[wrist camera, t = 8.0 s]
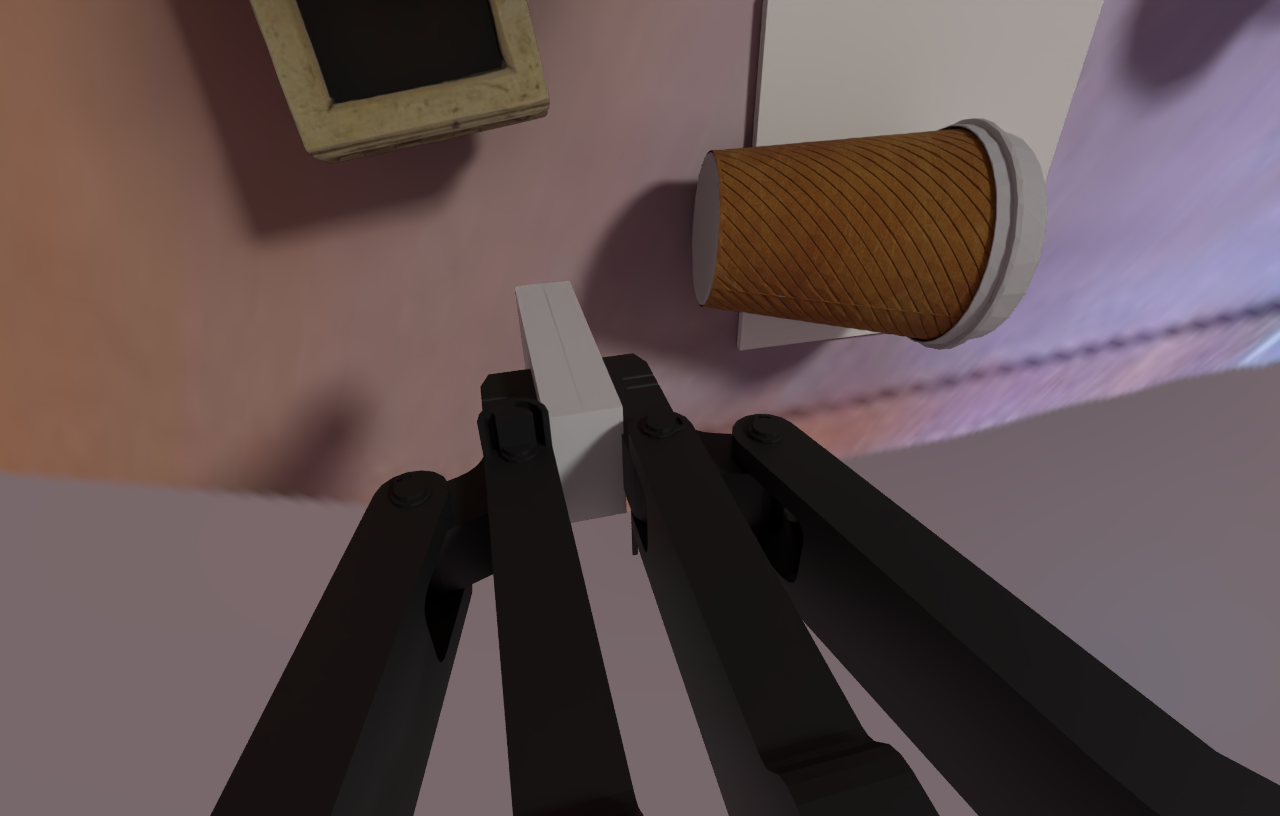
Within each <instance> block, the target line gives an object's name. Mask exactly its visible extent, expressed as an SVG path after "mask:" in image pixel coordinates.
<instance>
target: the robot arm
mask: <svg viewBox="0 0 1280 816" xmlns="http://www.w3.org/2000/svg"><path fill="white" fill-rule="evenodd" d="M515 294H516V301H517V309H518V316H519V324H520V331H521V339H522V346H523V353H524V361H525V368H526V369H525V370H518V371H511V372H503V373H496V374H489V375H488V376H487V378H486V379H485V381H484V382H483V384H482V385H481V399H482V410H483V411H482V412H481V413H480V414H479V417H478V420H477V425H478V430H479V435H480V440H481V445H482V450H483V456H484V457H483V459H482V460H481V462H480V463H479V464H478V465H477V466H476V467H475V468H473V469H472V470H470V471H469V472H467V473H465V474H463V475H461V476H459V477H457V478H454V479H452V480H449V481H446V479H445V478H444V476H442V475H439V474H437V473H435V472H431V471H422V470H421V471H414V472H407V473H404V474H401V475H399V476H396V477H393V478H392V479H390V480H389V481H387V482H386V483H384V484H383V485H381V487H380V488H379V489H378V490H377V492H376V493H375V494H374V496H373V498H372V500H371V502H370V504H369V506H368V507H367V509H366V511H365V513H364V515H363V517H362V520H361V521H360V523H359V525H358V527H357V529H356V531H355V533H354V535H353V537H352V539H351V541H350V543H349V545H348V547H347V549H346V551H345V553H344V555H343V557H342V558H341V560H340V562H339V565H338V566H337V569H336V570H335V572H334V574H333V576H332V578H331V580H330V582H329V584H328V586H327V588H326V590H325V592H324V594H323V596H322V598H321V600H320V602H319V604H318V606H317V607H316V609H315V612H314V613H313V615H312V617H311V619H310V621H309V623H308V625H307V627H306V629H305V631H304V633H303V635H302V637H301V639H300V641H299V643H298V645H297V647H296V649H295V651H294V653H293V655H292V657H291V658H290V660H289V662H288V665H287V667H286V668H285V670H284V672H283V674H282V676H281V678H280V680H279V682H278V684H277V686H276V688H275V690H274V692H273V694H272V696H271V698H270V700H269V702H268V704H267V706H266V708H265V709H264V711H263V713H262V715H261V718H260V719H259V722H258V723H257V725H256V727H255V729H254V731H253V733H252V735H251V737H250V739H249V741H248V743H247V745H246V747H245V749H244V751H243V753H242V755H241V757H240V759H239V760H238V763H237V764H236V766H235V768H234V770H233V772H232V774H231V776H230V778H229V780H228V782H227V784H226V786H225V788H224V790H223V792H222V794H221V796H220V798H219V800H218V802H217V804H216V806H215V808H214V810H213V811H212V813H211V815H210V816H413V815H414V811H415V807H416V803H417V800H418V796H419V792H420V788H421V784H422V781H423V777H424V773H425V769H426V766H427V761H428V758H429V754H430V750H431V746H432V743H433V739H434V735H435V732H436V728H437V724H438V720H439V716H440V712H441V709H442V705H443V701H444V697H445V694H446V690H447V686H448V682H449V678H450V674H451V671H452V667H453V663H454V659H455V655H456V652H457V648H458V644H459V641H460V637H461V633H462V629H463V625H464V622H465V618H466V614H467V610H468V607H469V603H470V599H471V595H472V584H473V583H475V582H478V581H480V580H482V579H484V578H486V577H488V576H490V575H492V574H493V576H494V588H495V600H496V612H497V625H498V637H499V649H500V661H501V674H502V686H503V698H504V710H505V722H506V734H507V746H508V759H509V771H510V783H511V795H512V807H513V816H643V814H642V812H641V811H640V809H639V807H638V804H637V801H636V798H635V794H634V790H633V786H632V781H631V777H630V773H629V769H628V765H627V760H626V756H625V752H624V748H623V743H622V739H621V735H620V730H619V726H618V722H617V718H616V714H615V709H614V705H613V701H612V697H611V693H610V688H609V684H608V680H607V675H606V671H605V667H604V663H603V659H602V654H601V650H600V646H599V641H598V637H597V633H596V629H595V624H594V620H593V616H592V612H591V607H590V604H589V599H588V595H587V590H586V586H585V582H584V578H583V574H582V569H581V565H580V561H579V556H578V552H577V548H576V544H575V540H574V536H573V532H572V527H571V523H573V522H578V521H583V520H589V519H595V518H600V517H605V516H611V515H616V514H621V513H627V511H626V497H627V500H628V503H629V505H630V508H631V524H632V550H633V551H632V552H633V555H637V554H638V549H639V552H640V554H641V558H642V561H643V564H644V567H645V569H646V572H647V575H648V578H649V581H650V584H651V587H652V590H653V593H654V596H655V599H656V602H657V605H658V608H659V611H660V614H661V616H662V620H663V623H664V626H665V629H666V631H667V634H668V637H669V640H670V643H671V646H672V649H673V652H674V655H675V658H676V661H677V664H678V666H679V670H680V673H681V676H682V678H683V681H684V684H685V687H686V690H687V693H688V696H689V699H690V702H691V705H692V708H693V711H694V714H695V717H696V720H697V723H698V726H699V728H700V732H701V735H702V738H703V741H704V744H705V747H706V750H707V753H708V755H709V758H710V761H711V764H712V767H713V770H714V773H715V776H716V779H717V782H718V785H719V788H720V791H721V794H722V797H723V800H724V802H725V805H726V809H727V811H728V814H729V816H939V814H938V813H937V811H936V809H935V808H934V806H933V804H932V802H931V801H930V799H929V797H928V796H927V794H926V792H925V791H924V789H923V787H922V786H921V784H920V782H919V781H918V779H917V777H916V776H915V774H914V772H913V771H912V769H911V768H910V766H909V765H908V764H907V762H906V761H905V760H904V758H903V757H902V755H901V754H900V753H899V752H898V751H896V750H895V749H894V748H893V747H892V746H891V745H890V744H886V743H881V742H876V741H874V740H873V739H872V738H870V737H869V736H868V735H867V733H866V732H865V730H864V729H863V727H862V726H861V724H860V722H859V720H858V719H857V717H856V715H855V713H854V711H853V710H852V708H851V706H850V704H849V703H848V701H847V699H846V697H845V695H844V694H843V692H842V690H841V688H840V686H839V685H838V683H837V681H836V679H835V678H834V676H833V674H832V672H831V671H830V669H829V667H828V665H827V663H826V662H825V660H824V658H823V656H822V654H821V653H820V651H819V649H818V647H817V646H816V644H815V642H814V640H813V639H812V637H811V635H810V633H809V631H808V630H807V628H806V626H805V624H804V622H805V623H806V624H807V626H808V627H809V628H810V629H811V630H812V631H813V632H814V633H815V634H816V636H817V637H818V638H819V639H820V640H821V641H822V642H823V643H824V644H825V646H826V647H827V648H828V649H829V650H830V651H831V652H832V653H833V654H834V656H835V657H836V658H837V659H838V660H839V661H840V662H841V663H842V664H843V666H844V667H845V668H846V669H847V670H848V671H849V672H850V673H851V674H852V676H853V677H854V678H855V679H856V680H857V681H858V682H859V683H860V684H861V686H862V687H863V688H864V689H865V690H866V691H867V692H868V693H869V694H870V695H871V697H872V698H873V699H874V700H875V701H876V702H877V703H878V704H879V705H880V707H881V708H882V709H883V710H884V711H885V712H886V713H887V714H888V716H889V717H890V718H891V719H892V720H893V721H894V722H895V723H896V724H897V726H898V727H899V728H900V729H901V730H902V731H903V732H904V733H905V734H906V735H907V737H908V738H909V739H910V740H911V741H912V742H913V743H914V744H915V746H917V748H918V749H919V750H920V751H921V752H922V753H923V754H924V756H925V757H926V758H927V759H928V760H929V761H930V762H931V763H932V764H933V766H934V767H935V768H936V769H937V770H938V771H939V772H940V773H941V774H942V776H943V777H944V778H945V779H946V780H947V781H948V782H949V783H950V784H951V786H952V787H953V788H954V789H955V790H956V791H957V792H958V793H959V794H960V796H961V797H962V798H963V799H964V800H965V801H966V802H967V803H968V804H969V805H970V807H972V809H973V810H974V811H975V812H976V813H977V814H978V816H1280V785H1278V784H1276V783H1274V782H1272V781H1271V780H1269V779H1267V778H1265V777H1263V776H1261V775H1259V774H1257V773H1255V772H1253V771H1252V770H1250V769H1248V768H1246V767H1244V766H1242V765H1240V764H1239V763H1237V762H1235V761H1233V760H1231V759H1229V758H1227V757H1225V756H1223V755H1221V754H1220V753H1218V752H1216V751H1215V750H1213V749H1212V748H1211V747H1209V746H1208V745H1207V744H1206V743H1204V742H1203V741H1202V740H1201V739H1199V738H1198V737H1197V736H1195V735H1194V734H1193V733H1191V732H1190V731H1189V730H1188V729H1186V728H1185V727H1184V726H1183V725H1181V724H1180V723H1179V722H1177V721H1176V720H1175V719H1173V718H1172V717H1171V716H1170V715H1168V714H1167V713H1166V712H1164V711H1163V710H1162V709H1161V708H1159V707H1158V706H1157V705H1155V704H1154V703H1153V702H1152V701H1150V700H1149V699H1148V698H1146V697H1145V696H1144V695H1142V694H1141V693H1140V692H1139V691H1137V690H1136V689H1135V688H1133V687H1132V686H1131V685H1129V684H1128V683H1127V682H1125V681H1124V680H1123V679H1122V678H1120V677H1119V676H1118V675H1117V674H1115V673H1114V672H1113V671H1111V670H1110V669H1109V668H1108V667H1106V666H1105V665H1104V664H1102V663H1101V662H1100V661H1099V660H1097V659H1096V658H1094V657H1093V656H1092V655H1091V654H1089V653H1088V652H1087V651H1085V650H1084V649H1083V648H1082V647H1080V646H1079V645H1078V644H1077V643H1075V642H1074V641H1073V640H1071V639H1070V638H1069V637H1068V636H1066V635H1065V634H1064V633H1062V632H1061V631H1060V630H1058V629H1057V628H1056V627H1055V626H1053V625H1052V624H1051V623H1049V622H1048V621H1047V620H1046V619H1044V618H1043V617H1042V616H1040V615H1039V614H1038V613H1036V612H1035V611H1034V610H1033V609H1031V608H1030V607H1029V606H1027V605H1026V604H1025V603H1024V602H1022V601H1021V600H1020V599H1018V598H1017V597H1016V596H1014V595H1013V594H1012V593H1011V592H1009V591H1008V590H1007V589H1005V588H1004V587H1003V586H1002V585H1000V584H999V583H998V582H996V581H995V580H994V579H993V578H991V577H990V576H989V575H987V574H986V573H985V572H984V571H982V570H981V569H980V568H978V567H977V566H976V565H975V564H973V563H972V562H971V561H969V560H968V559H967V558H965V557H964V556H963V555H962V554H960V553H959V552H958V551H956V550H955V549H954V548H952V547H951V546H950V545H949V544H947V543H946V542H945V541H944V540H942V539H940V537H938V536H937V535H936V534H934V533H933V532H932V531H931V530H929V529H928V528H927V527H925V526H924V525H923V524H922V523H920V522H919V521H918V520H916V519H915V518H914V517H912V516H911V515H910V514H909V513H907V512H906V511H905V510H903V509H902V508H901V507H899V506H898V505H897V504H896V503H894V502H893V501H892V500H891V499H889V498H888V497H887V496H885V495H884V494H883V493H881V492H880V491H879V490H878V489H876V488H875V487H874V486H872V485H871V484H870V483H869V482H867V481H866V480H865V479H863V478H862V477H861V476H860V475H858V474H857V473H856V472H854V471H853V470H852V469H850V468H849V467H848V466H847V465H845V464H844V463H843V462H841V461H840V460H839V459H838V458H836V457H835V456H834V455H832V454H831V453H830V452H829V451H827V450H826V449H825V448H823V447H822V446H821V445H819V444H818V443H817V442H816V441H814V440H813V439H812V438H810V437H809V436H808V435H807V434H805V433H804V432H803V431H801V430H800V429H799V428H798V427H796V426H795V425H794V424H792V423H791V422H789V421H787V420H785V419H783V418H781V417H778V416H774V415H770V414H754V415H749V416H745V417H743V418H741V419H740V420H738V421H737V422H736V423H735V425H734V426H733V429H732V434H722V433H708V432H701V431H698V430H695V428H694V427H693V425H692V423H691V422H690V421H689V420H688V419H687V418H686V417H685V416H682V415H680V414H678V413H676V412H673V410H672V408H671V406H670V404H669V403H668V401H667V399H666V397H665V395H664V393H663V392H662V390H661V388H660V386H659V385H658V382H657V380H656V379H655V377H654V376H653V373H652V371H651V369H650V367H649V366H648V364H647V362H646V361H644V360H643V359H641V358H640V357H638V356H636V355H635V354H633V353H632V354H625V355H617V356H610V357H603V358H602V357H601V354H600V352H599V350H598V347H597V345H596V343H595V340H594V338H593V335H592V333H591V331H590V328H589V326H588V324H587V321H586V319H585V317H584V314H583V312H582V309H581V307H580V305H579V302H578V300H577V298H576V295H575V293H574V291H573V288H572V286H571V283H570V281H561V282H552V283H543V284H534V285H525V286H516V287H515ZM802 620H803V621H804V622H803V621H802Z"/></svg>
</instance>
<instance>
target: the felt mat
mask: <svg viewBox="0 0 1280 816" xmlns="http://www.w3.org/2000/svg"><path fill="white" fill-rule="evenodd" d="M1103 2H1104V0H763V8H762V21H761V34H760V47H759V60H758V73H757V87H756V100H755V113H754V126H753V139H752V147H758V146H771V145H782V144H791V143H802V142H815V141H826V140H838V139H848V138H861V137H870V136H880V135H894V134H907V133H915V132H927V131H937V130H939V129H941V128H944V127H947V126H949V125H953V124H955V123H957V122H959V121H961V120H964V119H971V118H983V119H986V120H989V121H992V122H994V123H995V124H996V125H997V126H999V127H1000V128H1001V129H1002V130H1003V131H1004V132H1007V133H1010V134H1013V135H1015V136H1017V137H1019V138H1021V139H1023V140H1024V141H1025V142H1026V144H1027V145H1028V146H1029V147H1030V148H1031V149H1032V150H1033V152H1034V153H1035V155H1036V157H1037V159H1038V161H1039V163H1040V166H1041V169H1042V173H1043V176H1044V181H1045V180H1046V177H1047V174H1048V171H1049V168H1050V165H1051V162H1052V159H1053V156H1054V153H1055V150H1056V147H1057V144H1058V140H1059V137H1060V134H1061V131H1062V128H1063V125H1064V122H1065V119H1066V116H1067V113H1068V110H1069V107H1070V103H1071V100H1072V97H1073V94H1074V91H1075V88H1076V85H1077V82H1078V79H1079V76H1080V73H1081V70H1082V67H1083V63H1084V60H1085V57H1086V54H1087V51H1088V48H1089V45H1090V42H1091V39H1092V36H1093V33H1094V30H1095V27H1096V23H1097V20H1098V17H1099V14H1100V11H1101V8H1102V5H1103ZM874 333H881V332H872V331H867V330H858V329H853V328H844V327H840V326H830V325H826V324H816V323H811V322H804V321H798V320H790V319H784V318H777V317H772V316H763V315H758V314H750V313H745V312H739V322H738V335H737V347H738V349H739V350H740V351H741V350H749V349H757V348H764V347H772V346H780V345H788V344H796V343H804V342H811V341H819V340H827V339H835V338H843V337H851V336H859V335H866V334H874Z"/></svg>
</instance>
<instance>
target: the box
mask: <svg viewBox="0 0 1280 816" xmlns="http://www.w3.org/2000/svg"><path fill="white" fill-rule="evenodd" d="M249 2H250V4H251V7H252V10H253V12H254V15H255V18H256V20H257V23H258V26H259V28H260V31H261V33H262V36H263V38H264V41H265V44H266V46H267V49H268V51H269V54H270V57H271V60H272V62H273V65H274V68H275V71H276V74H277V76H278V79H279V82H280V85H281V87H282V90H283V93H284V95H285V98H286V101H287V103H288V106H289V109H290V111H291V114H292V117H293V119H294V122H295V125H296V127H297V130H298V132H299V135H300V137H301V139H302V142H303V144H304V147H305V149H306V151H307V152H308V153H310V154H311V155H312V156H313V157H315V158H316V159H318V160H322V161H325V162H327V163H329V164H333V163H338V162H343V161H348V160H353V159H357V158H362V157H367V156H372V155H377V154H381V153H386V152H390V151H394V150H399V149H403V148H408V147H412V146H416V145H421V144H427V143H432V142H438V141H443V140H446V139H450V138H453V137H457V136H462V135H467V134H471V133H477V132H482V131H486V130H491V129H495V128H500V127H504V126H508V125H513V124H517V123H521V122H525V121H530V120H534V119H538V118H542V117H545V116H546V115H547V111H548V109H549V99H550V98H549V94H548V90H547V85H546V81H545V77H544V73H543V68H542V64H541V60H540V55H539V51H538V47H537V43H536V38H535V34H534V30H533V26H532V21H531V17H530V13H529V9H528V4H527V0H249Z"/></svg>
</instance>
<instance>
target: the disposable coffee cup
mask: <svg viewBox="0 0 1280 816" xmlns="http://www.w3.org/2000/svg"><path fill="white" fill-rule="evenodd" d="M1046 214H1047V196H1046V189H1045V181H1044V176H1043V173H1042V169H1041V166H1040V163H1039V161H1038V159H1037V157H1036V155H1035V153H1034V152H1033V150H1032V149H1031V148H1030V147H1029V146H1028V145H1027V144H1026V142H1025V141H1024V140H1023V139H1021V138H1019V137H1017V136H1015V135H1013V134H1010V133H1007V132H1004V131H1003V130H1002V129H1001V128H1000V127H999V126H997V125H996V124H995V123H994V122H992V121H989V120H986V119H983V118H971V119H964V120H961V121H959V122H957V123H955V124H953V125H949V126H947V127H944V128H941V129H939V130H937V131H927V132H915V133H907V134H894V135H880V136H870V137H861V138H848V139H838V140H826V141H815V142H802V143H791V144H782V145H771V146H758V147H748V148H738V149H726V150H710V151H709V152H708V153H707V155H706V157H705V158H704V161H703V164H702V167H701V170H700V173H699V178H698V184H697V189H696V197H695V206H694V218H693V230H692V270H693V284H694V290H695V295H696V298H697V301H698V303H699V305H700V306H702V307H709V308H717V309H723V310H731V311H738V312H745V313H750V314H758V315H763V316H772V317H777V318H784V319H790V320H798V321H804V322H811V323H816V324H826V325H830V326H840V327H844V328H853V329H858V330H867V331H872V332H881V333H885V334H894V335H899V336H906V337H908V338H910V339H911V340H913V341H915V342H919V343H920V344H922V345H924V346H925V347H929V348H934V349H939V350H940V349H951V348H953V347H956V346H958V345H960V344H963V343H964V342H966V341H967V340H969V339H973V338H978V337H982V336H984V335H986V334H988V333H990V332H992V331H994V330H995V329H996V328H997V327H998V326H999V325H1001V324H1002V323H1003V322H1004V321H1005V320H1006V319H1008V318H1009V316H1010V315H1011V313H1012V312H1013V311H1014V309H1015V308H1016V306H1017V305H1018V303H1019V302H1020V301H1021V299H1022V298H1023V296H1024V295H1025V293H1026V291H1027V289H1028V286H1029V284H1030V282H1031V279H1032V277H1033V274H1034V272H1035V270H1036V267H1037V265H1038V263H1039V259H1040V254H1041V250H1042V245H1043V240H1044V236H1045V231H1046Z"/></svg>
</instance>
